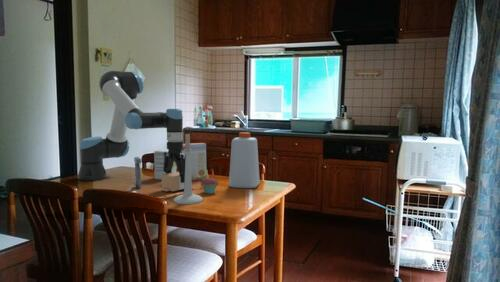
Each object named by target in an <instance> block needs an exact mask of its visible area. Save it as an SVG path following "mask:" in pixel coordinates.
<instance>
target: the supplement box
mask: <svg viewBox="0 0 500 282" xmlns="http://www.w3.org/2000/svg"><path fill="white" fill-rule="evenodd" d="M168 151H169V150H168V149H160V150H155V151H153V153H154V154H153V155H154V157H153V159H154V165H153V166H154V180H160V181H162V174H166V172H164V171H163V167H164V152H168ZM171 171H172V173H173V172H177V164H176V163H175V161H174V163H173V167H172V170H171Z"/></svg>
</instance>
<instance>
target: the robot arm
mask: <svg viewBox="0 0 500 282" xmlns="http://www.w3.org/2000/svg"><path fill="white" fill-rule="evenodd" d="M98 83H99V84H98V85H99V89H100V90H101V92H102V93H103V95H104V96H106V97H108V98H109V99H110V100H111V101H112V102H113V103H114V105H115V106H114V110H113V115H112V120H111V121H112V122H111V125H110V130H109V132H108V133H107V134H106V136H105V137H106V138H103V136H91V137H87V138H82V139H81V140H80V142H79V151H80V153H79V155H80V167H79V170H78V175H77V179H78V180H80V181H97V180H99V181H100V180H103V179H106V178H108V177H107V171H106V169H105V166H104V161H103V160H104V159H105V160H106V159H113V158H122V157H125V156H126V155H127V154H128V152H130V151H129V150H130V141H129V139H128V137H127V135H126V132H127V130H128V129H129V130H141V129H142V130H143V129H166V141H167V142H166V150H169V151H168V152H164V167H163V171H164V172H166V174H167V173H172V171H171V170H172V167H173V163H174V161H175V163H176V168H177V172H179V174H180V175H179V190H178V191H180V190H184V182H185V159H186V154H182V152H181V150H182V149H183V144H184V143H183V140H184V138H183V136H184V134H183V124H184V122H183V118H184V117H183V110H182V109H181V108H167V109H166V111H165V112H161V111H160V112H159V111H158V112H157V111H156V112H143V111H142V110H141V109H140V107H138V105H137V104H136V103H135V101H134V100H136V99H137V96H138V94H142V92H143V90H144V81H143V78H142V76H141V74H140V73H138V72H133V71H122V70H121V71H120V70H109V71H106V72H105V73H103V74H102V75H101V76H100V78H99V82H98ZM127 128H128V129H127Z"/></svg>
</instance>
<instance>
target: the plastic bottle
mask: <svg viewBox="0 0 500 282" xmlns="http://www.w3.org/2000/svg"><path fill="white" fill-rule="evenodd" d="M229 162H230V163H229V174H228V176H229V177H228V185H229V187H230V188H236V189H255V188H257V187H258V185H259V184H260V182H261V180H260V167H259V166H260V164H259V150H258V139H257V138H256V137H251V132H247V131H245V132H239V133H238V137H233V139H232V140H231V147H230V161H229Z"/></svg>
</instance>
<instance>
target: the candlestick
mask: <svg viewBox="0 0 500 282" xmlns="http://www.w3.org/2000/svg"><path fill="white" fill-rule="evenodd" d="M184 137H185V138H184V139H185V141H184V144H185V149H184V151H185V154H186V159H185V184H184V189H183V190H184V191H183V194H180V195H177V196H176V197H174V198H173V203H174V204H176V205H195V204H199V203H202V202H203V201H204V199H203V197H202V196H201V195H198V194H195V193H193V183H192V180H191V166H190V154H191V150H192V149H190V143H191V135H190V134H189V133H186V134H184Z"/></svg>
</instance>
